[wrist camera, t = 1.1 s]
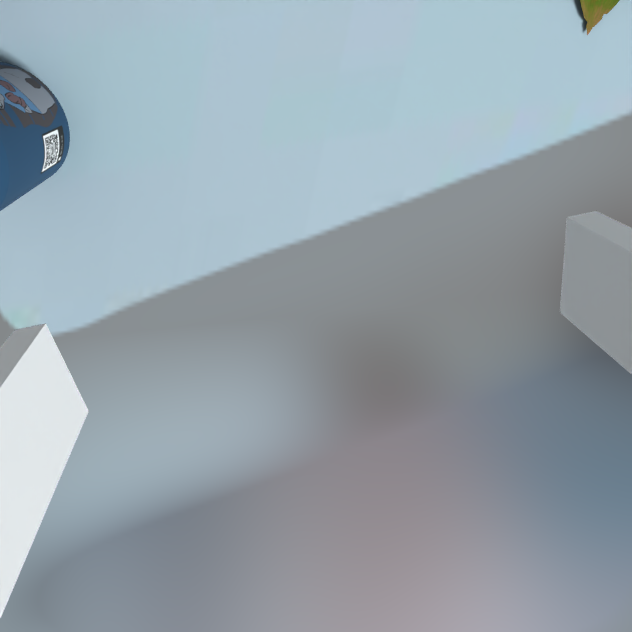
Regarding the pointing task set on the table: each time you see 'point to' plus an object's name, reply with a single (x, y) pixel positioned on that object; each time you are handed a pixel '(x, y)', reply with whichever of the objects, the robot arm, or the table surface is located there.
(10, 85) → the soda can
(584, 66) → the table surface
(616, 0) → the lily flower
